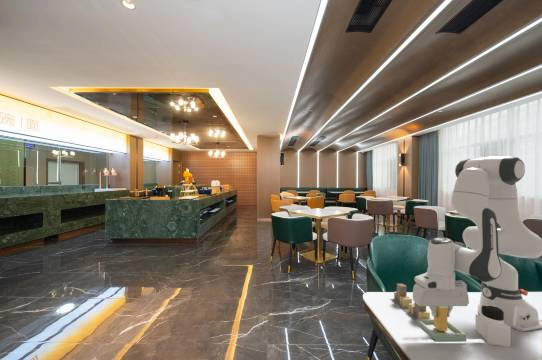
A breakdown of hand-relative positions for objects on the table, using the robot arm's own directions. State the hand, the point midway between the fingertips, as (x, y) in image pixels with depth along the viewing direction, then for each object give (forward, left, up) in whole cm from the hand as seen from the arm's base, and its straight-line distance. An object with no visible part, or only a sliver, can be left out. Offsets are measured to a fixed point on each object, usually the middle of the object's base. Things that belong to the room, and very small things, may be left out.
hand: (440, 316), depth 91 cm
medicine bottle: (-17, +4, -7) cm, 19 cm away
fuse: (0, 0, -5) cm, 5 cm away
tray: (0, 0, -6) cm, 6 cm away
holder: (+2, -15, -6) cm, 16 cm away
